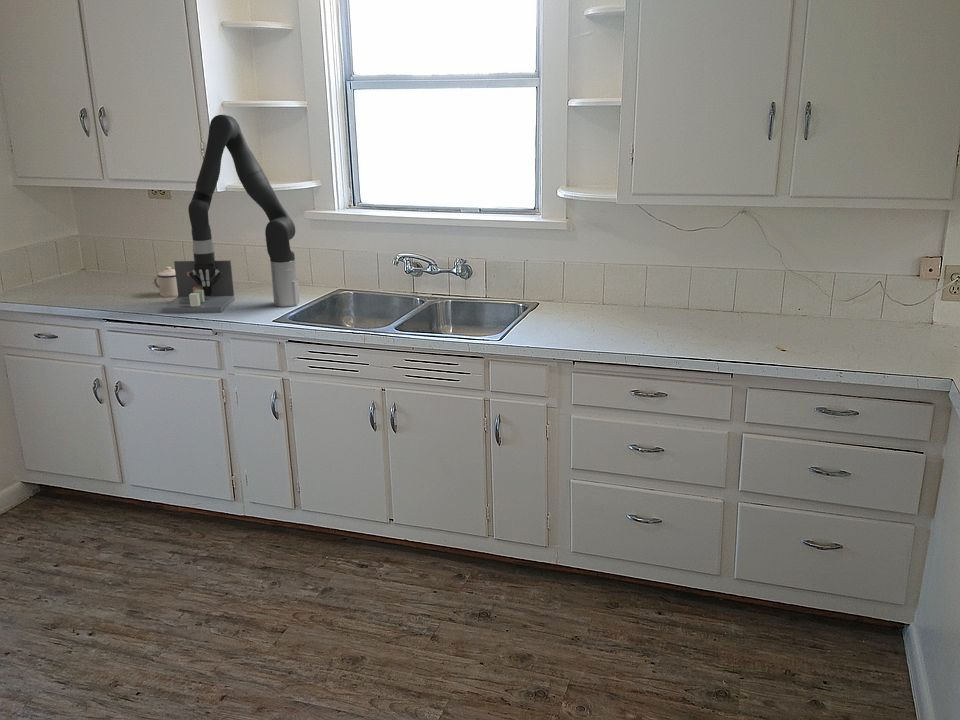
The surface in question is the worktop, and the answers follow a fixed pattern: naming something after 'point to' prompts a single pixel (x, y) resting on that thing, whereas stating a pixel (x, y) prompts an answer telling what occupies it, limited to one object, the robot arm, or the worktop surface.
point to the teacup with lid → (167, 282)
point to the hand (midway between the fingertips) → (208, 295)
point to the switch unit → (185, 284)
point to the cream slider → (194, 299)
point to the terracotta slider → (197, 288)
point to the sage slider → (200, 295)
